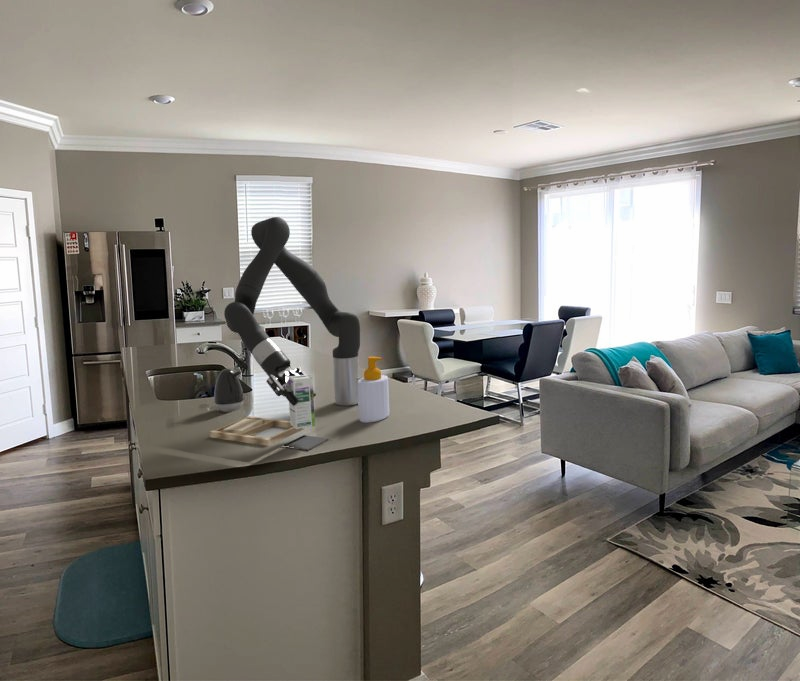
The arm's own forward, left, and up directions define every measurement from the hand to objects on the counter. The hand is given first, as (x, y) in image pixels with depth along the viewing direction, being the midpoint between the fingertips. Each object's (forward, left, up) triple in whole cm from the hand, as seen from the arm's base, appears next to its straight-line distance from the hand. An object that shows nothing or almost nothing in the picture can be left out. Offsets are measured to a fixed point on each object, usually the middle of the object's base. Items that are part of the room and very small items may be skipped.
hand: (305, 400), depth 164 cm
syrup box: (+1, -1, -8) cm, 8 cm away
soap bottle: (-21, -22, -13) cm, 33 cm away
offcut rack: (+15, -10, -13) cm, 22 cm away
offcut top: (+20, -13, -12) cm, 27 cm away
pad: (+1, -1, -13) cm, 13 cm away
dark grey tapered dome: (+29, -44, -13) cm, 55 cm away
